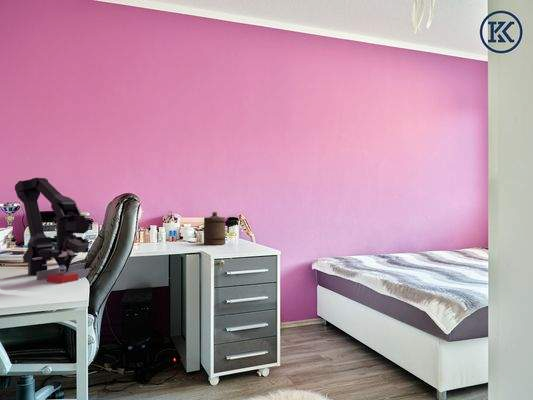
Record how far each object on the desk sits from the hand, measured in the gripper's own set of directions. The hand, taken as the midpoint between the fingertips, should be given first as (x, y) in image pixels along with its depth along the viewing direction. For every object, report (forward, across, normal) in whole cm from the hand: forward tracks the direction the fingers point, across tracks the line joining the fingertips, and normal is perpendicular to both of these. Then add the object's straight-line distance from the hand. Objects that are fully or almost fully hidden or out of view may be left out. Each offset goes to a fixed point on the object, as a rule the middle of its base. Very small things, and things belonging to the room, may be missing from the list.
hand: (64, 273), depth 155 cm
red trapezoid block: (+2, -5, -4) cm, 7 cm away
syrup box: (+2, +32, +31) cm, 45 cm away
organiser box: (+2, +6, 0) cm, 6 cm away
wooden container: (+2, +133, +2) cm, 133 cm away
